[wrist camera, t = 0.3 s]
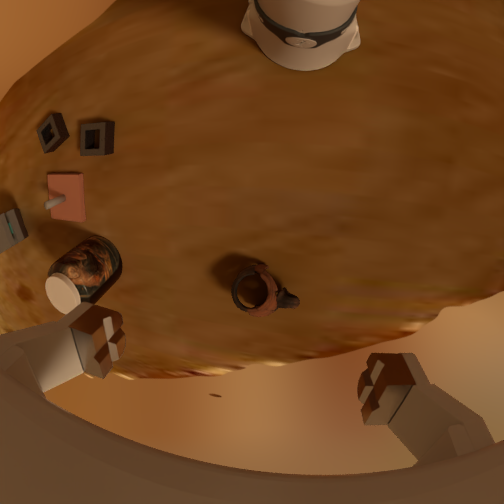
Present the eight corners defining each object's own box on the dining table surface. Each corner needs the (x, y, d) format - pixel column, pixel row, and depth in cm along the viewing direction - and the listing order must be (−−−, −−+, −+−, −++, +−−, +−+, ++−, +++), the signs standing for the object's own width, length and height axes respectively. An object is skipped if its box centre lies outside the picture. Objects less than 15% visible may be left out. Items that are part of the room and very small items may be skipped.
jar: (123, 290, 57) (88, 331, 44) (83, 275, 57) (45, 310, 44) (122, 242, 52) (79, 278, 38) (80, 229, 52) (34, 259, 39)
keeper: (51, 173, 47) (30, 180, 41) (82, 173, 47) (60, 181, 40) (55, 216, 52) (35, 226, 45) (85, 220, 51) (65, 232, 45)
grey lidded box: (30, 200, 51) (-1, 215, 41) (40, 229, 54) (11, 247, 44) (-5, 226, 56) (-29, 240, 46) (3, 249, 59) (-20, 265, 49)
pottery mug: (241, 308, 56) (223, 314, 48) (247, 261, 56) (230, 260, 48) (300, 319, 51) (291, 327, 44) (307, 269, 51) (299, 269, 44)
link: (90, 123, 42) (81, 124, 40) (114, 121, 42) (105, 122, 39) (89, 153, 45) (80, 155, 42) (113, 153, 45) (104, 155, 42)
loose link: (45, 129, 43) (36, 130, 40) (61, 113, 42) (51, 113, 39) (53, 151, 45) (44, 153, 43) (69, 136, 44) (60, 137, 41)
